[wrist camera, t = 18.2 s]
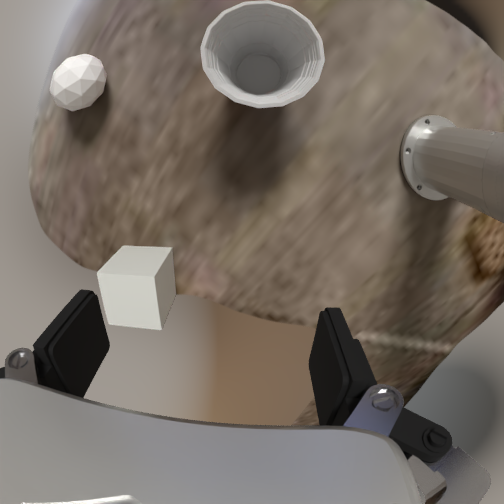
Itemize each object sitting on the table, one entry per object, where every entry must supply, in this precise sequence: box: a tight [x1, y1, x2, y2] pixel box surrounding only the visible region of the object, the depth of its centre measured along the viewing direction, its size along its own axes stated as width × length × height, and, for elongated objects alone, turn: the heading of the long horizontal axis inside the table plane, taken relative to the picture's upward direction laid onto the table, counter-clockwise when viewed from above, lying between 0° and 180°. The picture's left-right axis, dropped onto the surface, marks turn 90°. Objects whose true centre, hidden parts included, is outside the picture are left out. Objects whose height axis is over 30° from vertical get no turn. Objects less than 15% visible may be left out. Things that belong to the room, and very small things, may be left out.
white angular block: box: [97, 246, 176, 330], centre depth 37 cm, size 8×8×9 cm
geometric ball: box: [50, 54, 107, 111], centre depth 27 cm, size 8×8×8 cm
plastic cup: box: [200, 1, 325, 108], centre depth 26 cm, size 11×11×12 cm
